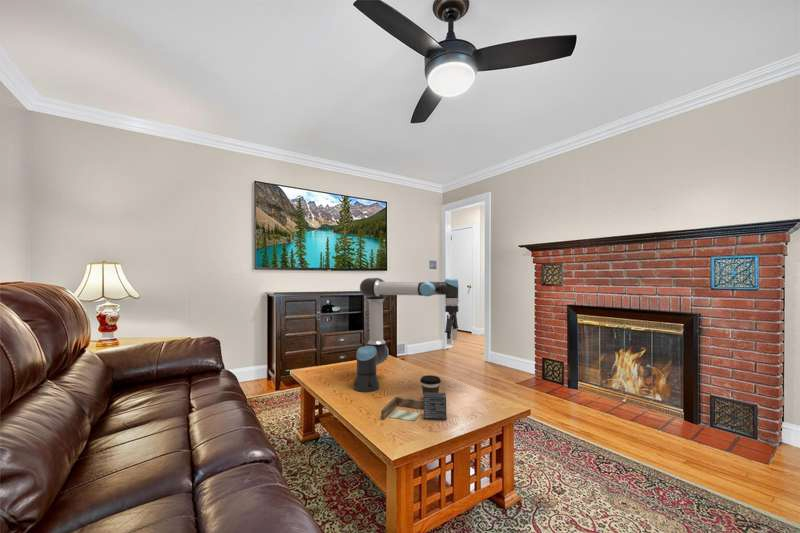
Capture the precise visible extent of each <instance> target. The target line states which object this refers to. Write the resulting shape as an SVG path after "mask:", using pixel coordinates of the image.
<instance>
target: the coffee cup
mask: <svg viewBox="0 0 800 533" xmlns="http://www.w3.org/2000/svg"><path fill="white" fill-rule="evenodd" d="M441 382H442V379H441V378H440V377H439V376H437V375H424V376H421V378H420V383H421V389H422V395H423V396H424V392H427V393H440V392H439V391H440V390H439V389H440V384H441Z"/></svg>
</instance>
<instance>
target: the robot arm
mask: <svg viewBox="0 0 800 533" xmlns="http://www.w3.org/2000/svg"><path fill="white" fill-rule="evenodd" d="M459 288H460V287H459V280H458V278H445V280H444V281H426V282H425V281H424V282H423V281H422V282H419V281H417V282H416V281H415V282H414V281H385V280H384V279H383V278H380V277H368V278H364V279H363V280H362V281H361V282H360V284H359V291H360V293H361V294H362V295H363V296H364V297H365V298H366V300H367V302H368V314H369V315H368V316H369V317H368V318H369V319H368V320H369V325H368V326H369V340H368V342H367V344H366V345H364V346H361V347H359V348H358V349H356V350H357V351H356V355H355V356H356V376H355V379H354V382H353V389H354V391H357V392H362V393H368V392H369V393H370V392H375V391H377V390H379V389H380V381H379V378H378V374H377V366H378V365H380V364H383V363H384V362H385V361H386V360H387V359H388V358H389V353H390V352H389V348H388V347H387V344H386V341H385V340H384V311H383V310H384V309H383V305H384V303H383V302H384V301H385V299H386V296H417V297H418V296H423V297H431V296H436V295H437V296H438V295H440V296H442V295H443V296H444V304H445V306H444V307H445V308H444V312H445V313H448V314H446V322H445V330H444V333H446V345H452V341H457V340H458V330H459V325H458V318H457V313H459V302H460V299H459Z"/></svg>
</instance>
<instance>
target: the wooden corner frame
mask: <svg viewBox="0 0 800 533" xmlns="http://www.w3.org/2000/svg"><path fill="white" fill-rule="evenodd" d="M397 407H401V408H403V407H404V408H411V409H416V410H417V409H418V410H423V411H424V399H423V400H422V399H416V398H409V397H402V396H401V397H400V396H395V397H394V398H392V399H391V401H389V402H388V403H387V404H386V405H385V406H384V407H383V408H382V409H381V410H380V411H381V412H380V416H381V417H380V418H381V420H386V418H392V419H398V420H404V421H409V422H415V421H417V419H418V418H419V416H420V415H421V412H417V411H416V412H415V411H410V410H403V409H396V408H397Z"/></svg>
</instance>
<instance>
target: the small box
mask: <svg viewBox="0 0 800 533" xmlns="http://www.w3.org/2000/svg"><path fill="white" fill-rule="evenodd" d="M423 400H424V410H423V420H435V421H436V420H437V421H438V420H439V421H446V420H447V395H446V392H438V393H427V392H424V395H423Z"/></svg>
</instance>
